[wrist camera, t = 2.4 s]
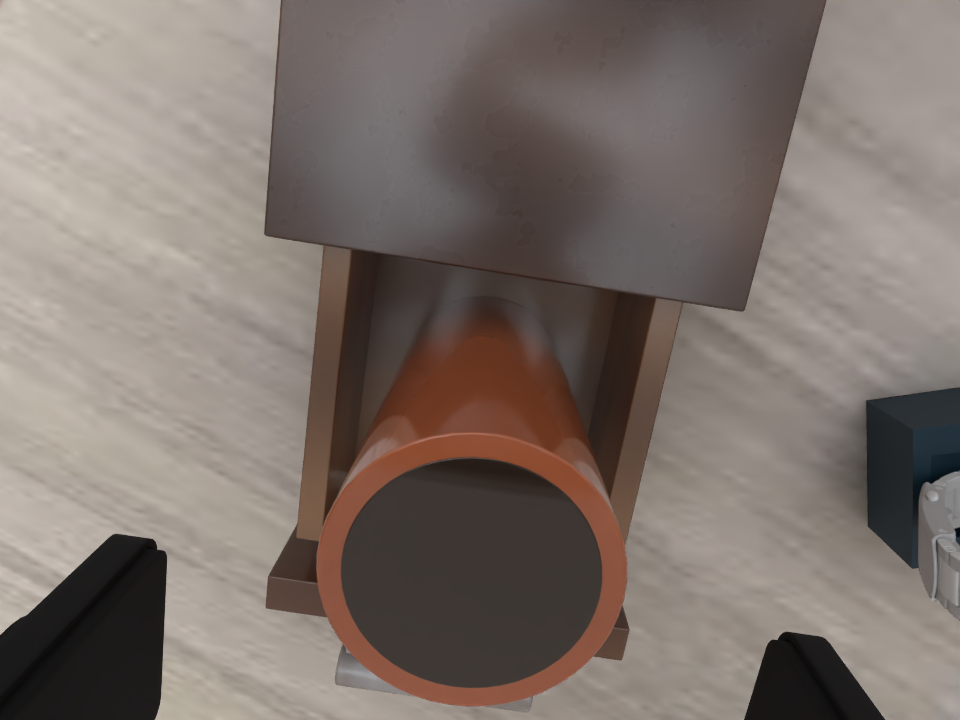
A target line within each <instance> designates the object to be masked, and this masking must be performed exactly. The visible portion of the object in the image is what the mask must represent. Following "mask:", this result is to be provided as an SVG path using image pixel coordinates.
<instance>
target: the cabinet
mask: <svg viewBox="0 0 960 720" xmlns="http://www.w3.org/2000/svg"><path fill="white" fill-rule="evenodd" d="M825 4H826V0H281V7H280V21H279V35H278V49H277V63H276V77H275V90H274V104H273V118H272V132H271V146H270V160H269V174H268V188H267V202H266V216H265V230H264V234H265V235H266V236H268V237H275V238H281V239H287V240H294V241H300V242H306V243H312V244H319V245H325V246H331V247H338V248H344V249H350V250H357V251H363V252H369V253H375V254H382V255H388V256H394V257H401V258H407V259H413V260H420V261H426V262H432V263H438V264H445V265H451V266H457V267H464V268H470V269H476V270H482V271H489V272H495V273H501V274H508V275H514V276H520V277H527V278H533V279H539V280H545V281H552V282H558V283H564V284H571V285H577V286H583V287H590V288H596V289H602V290H608V291H615V292H621V293H627V294H634V295H640V296H646V297H652V298H659V299H665V300H671V301H678V302H684V303H690V304H697V305H703V306H709V307H715V308H722V309H728V310H734V311H741V312H742V311H744V310H745V307H746V303H747V300H748V296H749V292H750V288H751V284H752V281H753V277H754V273H755V269H756V266H757V262H758V258H759V254H760V250H761V247H762V243H763V239H764V235H765V231H766V228H767V224H768V220H769V216H770V212H771V209H772V205H773V201H774V197H775V193H776V190H777V186H778V182H779V178H780V174H781V171H782V167H783V163H784V159H785V156H786V152H787V148H788V144H789V140H790V137H791V133H792V129H793V125H794V121H795V118H796V114H797V110H798V106H799V102H800V99H801V95H802V91H803V87H804V83H805V80H806V76H807V72H808V68H809V65H810V61H811V57H812V53H813V49H814V46H815V42H816V38H817V34H818V30H819V27H820V23H821V19H822V15H823V11H824V8H825Z"/></svg>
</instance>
